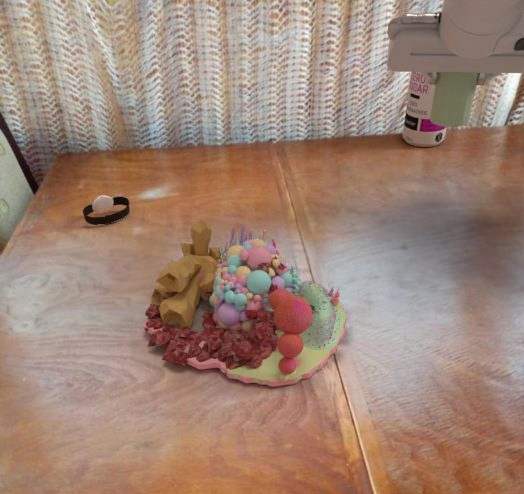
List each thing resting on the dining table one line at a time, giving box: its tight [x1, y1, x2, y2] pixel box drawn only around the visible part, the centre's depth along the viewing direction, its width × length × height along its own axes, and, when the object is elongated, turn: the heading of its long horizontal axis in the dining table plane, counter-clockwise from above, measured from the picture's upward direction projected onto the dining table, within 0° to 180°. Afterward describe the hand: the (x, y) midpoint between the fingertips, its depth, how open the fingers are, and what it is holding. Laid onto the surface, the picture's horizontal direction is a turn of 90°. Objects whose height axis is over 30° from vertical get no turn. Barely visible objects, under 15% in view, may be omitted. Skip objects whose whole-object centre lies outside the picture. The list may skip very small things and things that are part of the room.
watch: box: [82, 194, 131, 226], centre depth 87 cm, size 8×5×4 cm, turn 124°
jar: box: [430, 72, 479, 128], centre depth 77 cm, size 6×6×10 cm
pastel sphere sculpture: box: [142, 220, 347, 388], centre depth 65 cm, size 25×24×9 cm
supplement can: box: [402, 72, 448, 148], centre depth 103 cm, size 8×8×15 cm
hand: (456, 80), depth 77 cm, fingers closed on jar, 5 cm apart
